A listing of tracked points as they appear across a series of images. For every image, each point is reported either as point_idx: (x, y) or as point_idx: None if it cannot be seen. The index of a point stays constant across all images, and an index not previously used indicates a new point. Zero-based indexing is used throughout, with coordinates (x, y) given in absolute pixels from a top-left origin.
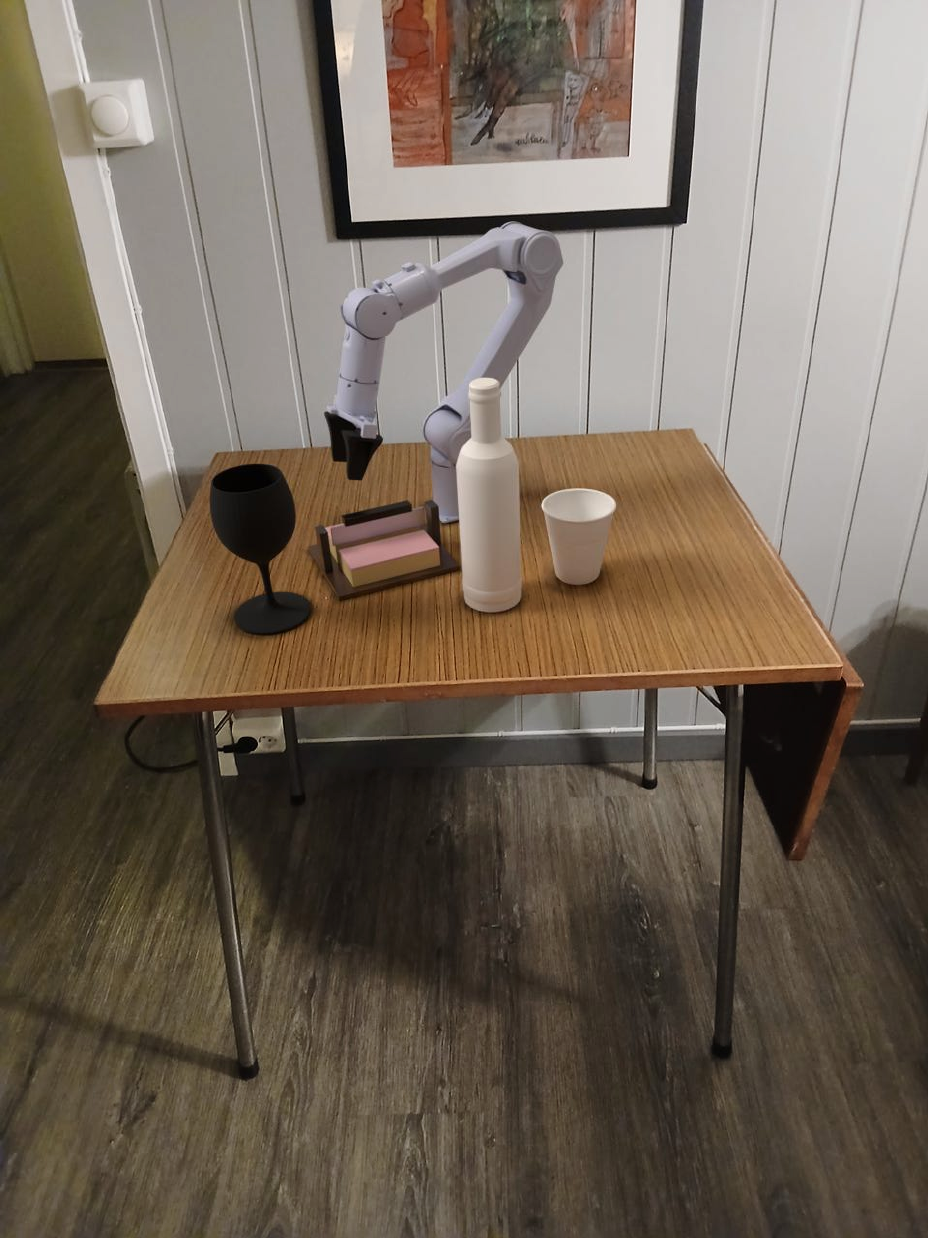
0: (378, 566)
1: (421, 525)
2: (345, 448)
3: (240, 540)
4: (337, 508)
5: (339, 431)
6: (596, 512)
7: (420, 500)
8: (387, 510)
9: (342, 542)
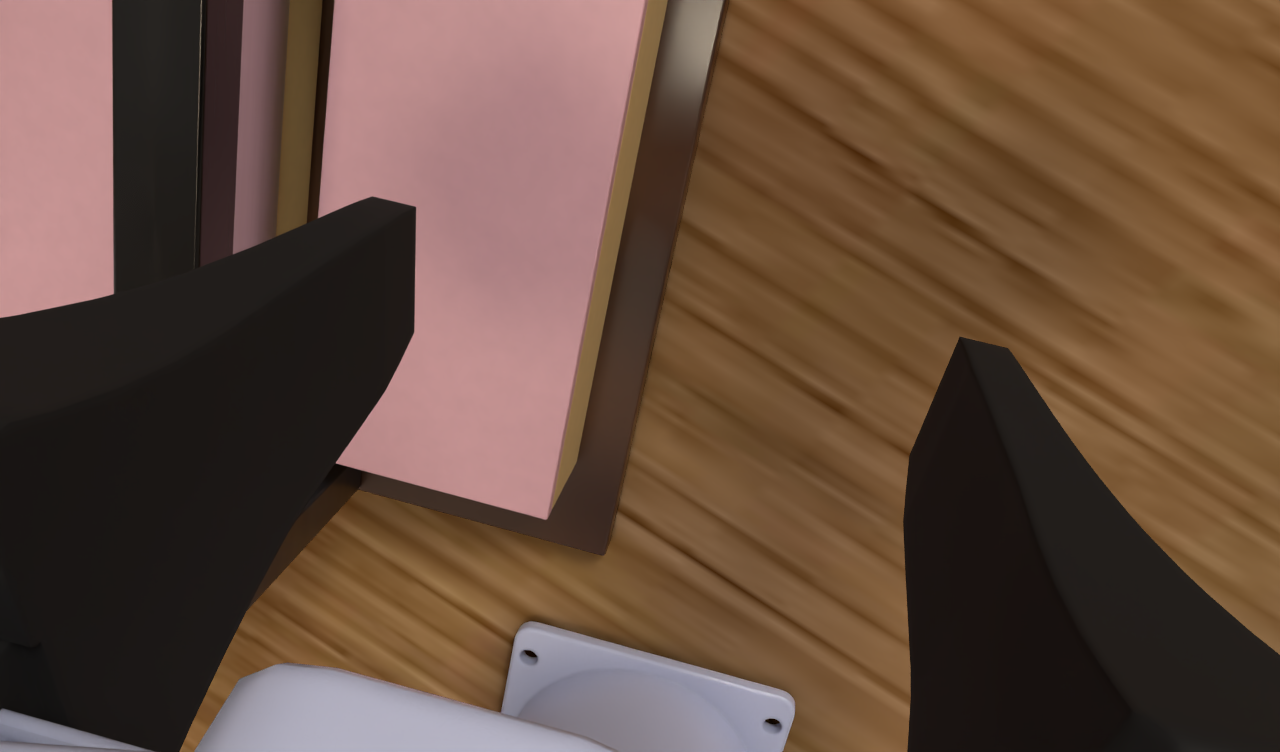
0: None
1: (536, 521)
2: (931, 547)
3: None
4: (1204, 301)
5: (990, 657)
6: None
7: (869, 708)
8: (118, 280)
9: None
